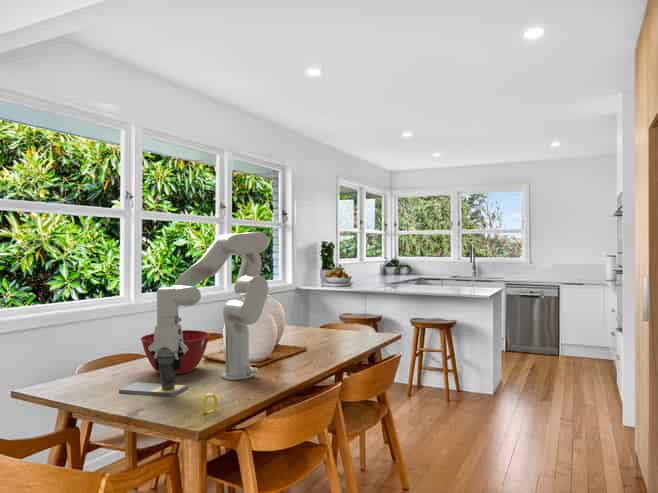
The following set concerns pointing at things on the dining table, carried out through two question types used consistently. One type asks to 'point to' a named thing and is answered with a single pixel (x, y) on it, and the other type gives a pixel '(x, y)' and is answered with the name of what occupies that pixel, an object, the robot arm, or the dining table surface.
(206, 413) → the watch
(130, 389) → the grey yellow flat slab
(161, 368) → the beverage cup
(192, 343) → the mixing bowl
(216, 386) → the dining table surface
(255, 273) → the robot arm
